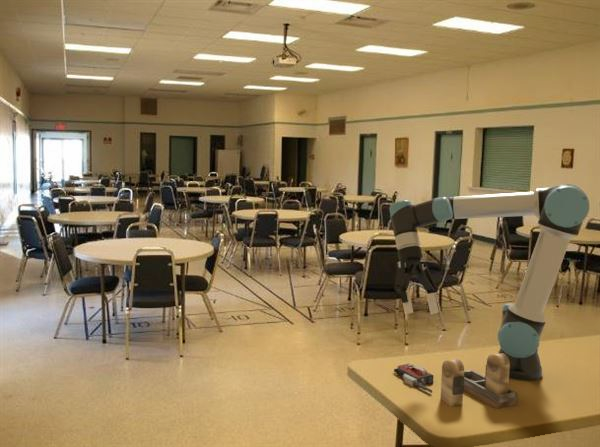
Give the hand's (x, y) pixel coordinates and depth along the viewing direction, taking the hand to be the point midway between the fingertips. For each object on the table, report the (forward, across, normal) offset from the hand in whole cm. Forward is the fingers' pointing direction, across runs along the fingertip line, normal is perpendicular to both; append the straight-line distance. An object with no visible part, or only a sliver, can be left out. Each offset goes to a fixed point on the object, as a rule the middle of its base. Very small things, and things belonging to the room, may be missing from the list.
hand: (422, 313), depth 189 cm
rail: (+26, -12, +8) cm, 30 cm away
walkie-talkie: (+20, -5, -10) cm, 23 cm away
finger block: (+27, +1, +4) cm, 27 cm away
